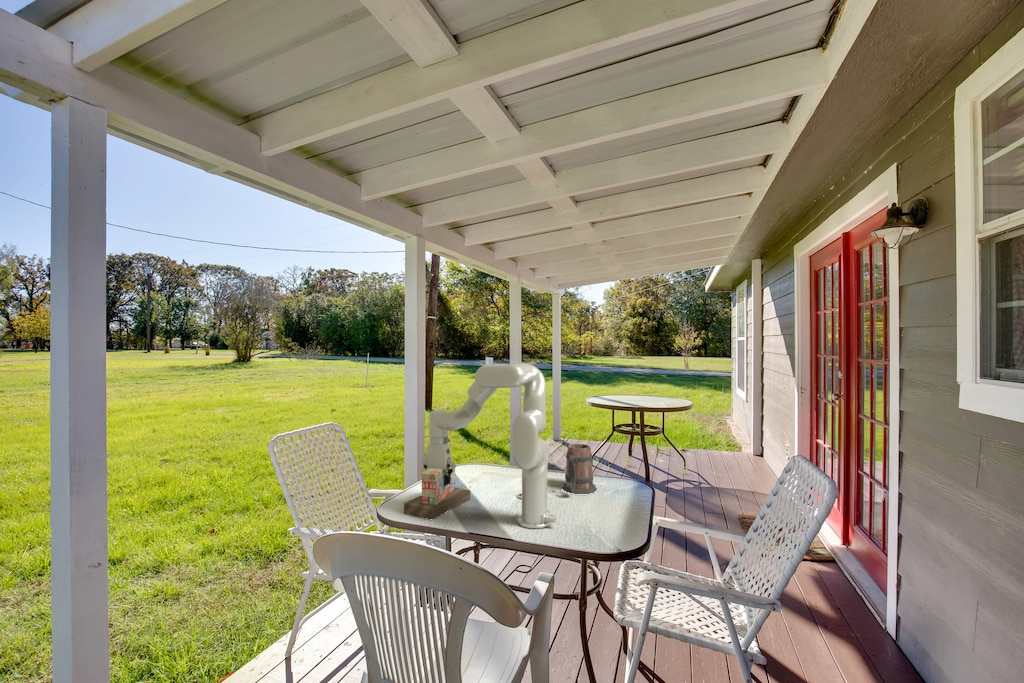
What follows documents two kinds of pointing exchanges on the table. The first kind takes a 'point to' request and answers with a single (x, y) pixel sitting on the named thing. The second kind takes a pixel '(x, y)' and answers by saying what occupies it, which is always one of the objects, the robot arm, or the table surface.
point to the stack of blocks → (435, 486)
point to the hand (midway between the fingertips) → (438, 482)
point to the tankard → (579, 470)
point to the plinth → (433, 511)
